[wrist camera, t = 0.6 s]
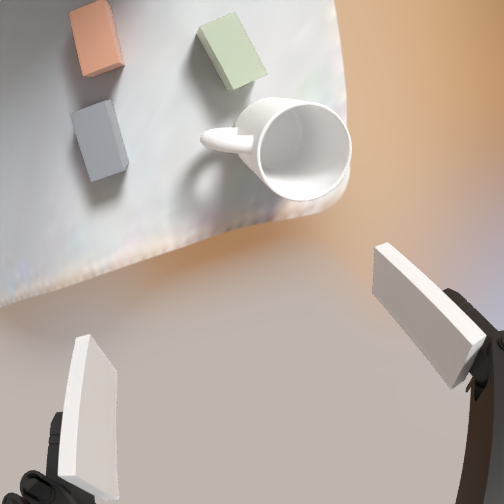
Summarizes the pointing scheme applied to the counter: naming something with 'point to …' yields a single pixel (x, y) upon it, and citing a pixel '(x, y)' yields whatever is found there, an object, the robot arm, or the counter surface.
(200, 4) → the counter surface
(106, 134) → the slate brick
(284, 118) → the mug
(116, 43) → the terracotta brick
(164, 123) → the counter surface
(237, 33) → the sage brick
